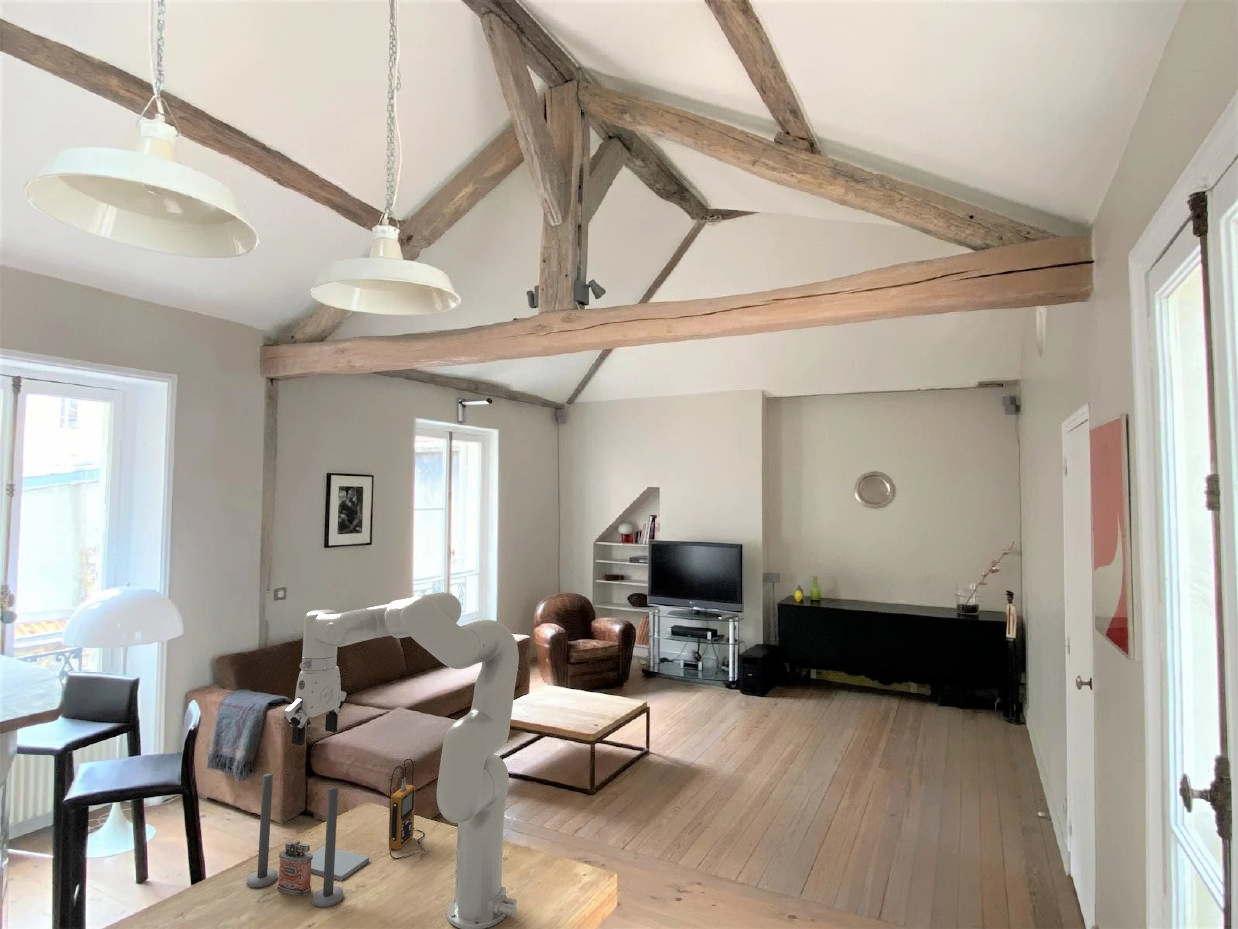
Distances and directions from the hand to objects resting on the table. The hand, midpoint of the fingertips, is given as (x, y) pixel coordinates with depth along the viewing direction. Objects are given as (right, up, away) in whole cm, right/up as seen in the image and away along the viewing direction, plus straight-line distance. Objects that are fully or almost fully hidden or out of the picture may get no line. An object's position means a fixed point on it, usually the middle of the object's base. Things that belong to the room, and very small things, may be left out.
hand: (315, 737), depth 154 cm
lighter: (0, -30, -9) cm, 31 cm away
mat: (+4, -31, +1) cm, 31 cm away
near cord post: (+9, -30, -13) cm, 33 cm away
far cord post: (-9, -30, -6) cm, 32 cm away
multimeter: (+20, -32, +11) cm, 39 cm away
